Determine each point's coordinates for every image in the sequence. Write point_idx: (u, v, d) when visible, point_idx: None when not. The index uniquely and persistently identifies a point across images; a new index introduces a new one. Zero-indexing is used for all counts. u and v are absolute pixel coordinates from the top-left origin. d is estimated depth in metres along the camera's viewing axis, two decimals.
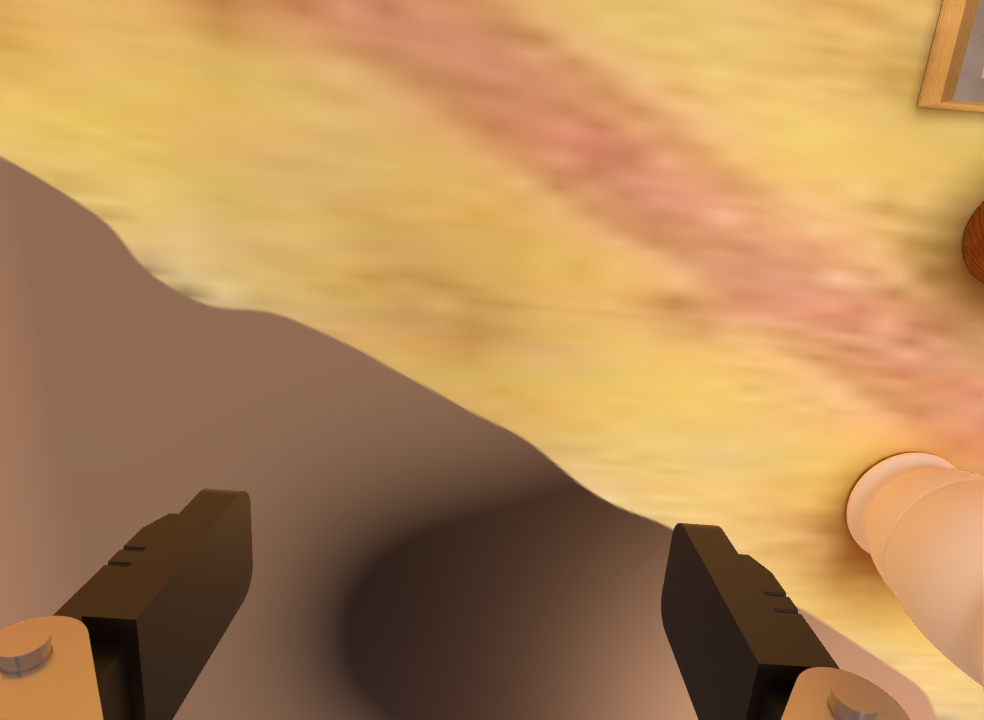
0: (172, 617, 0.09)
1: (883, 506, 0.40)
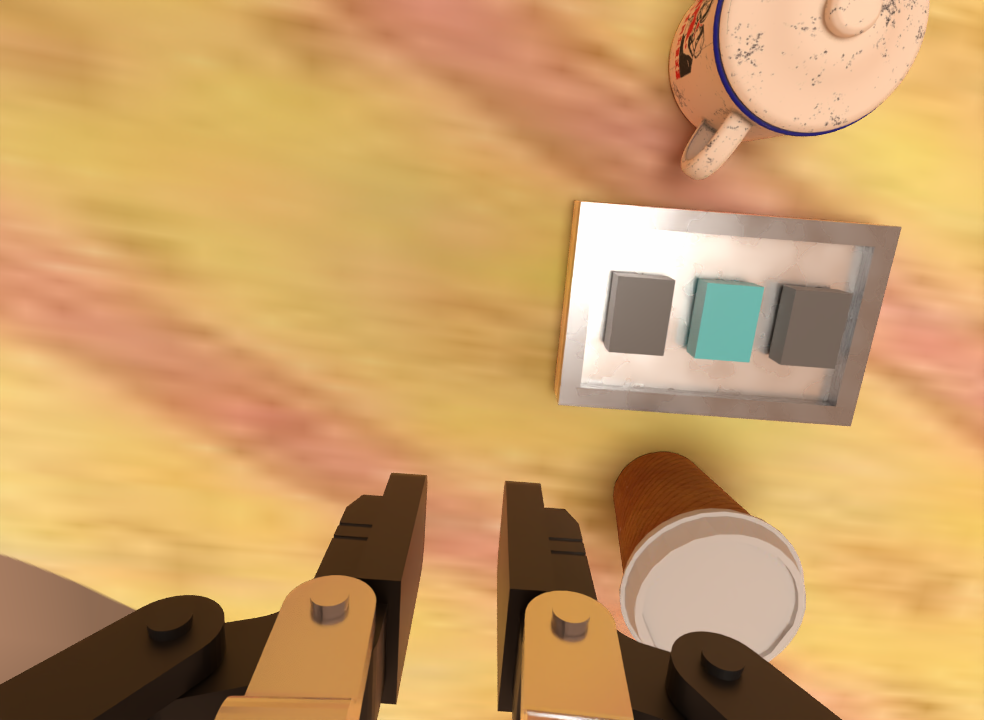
0: (407, 582, 0.10)
1: None
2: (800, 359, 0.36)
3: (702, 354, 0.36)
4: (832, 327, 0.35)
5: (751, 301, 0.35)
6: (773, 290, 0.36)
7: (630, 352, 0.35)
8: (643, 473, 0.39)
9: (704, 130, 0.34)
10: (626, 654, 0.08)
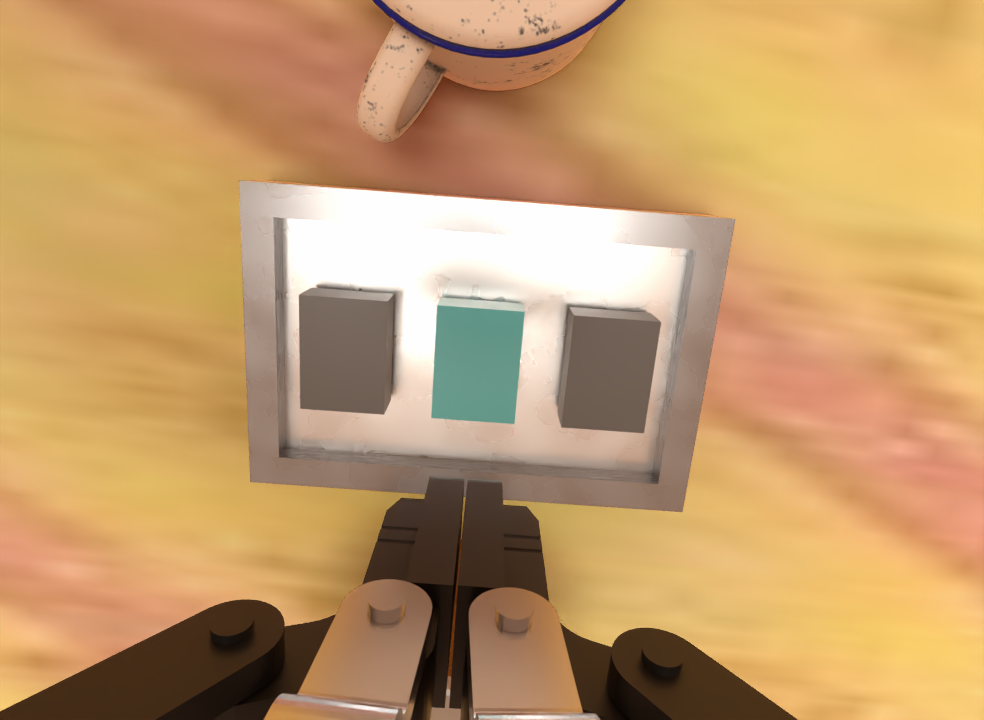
0: (454, 586, 0.10)
1: None
2: (591, 419, 0.24)
3: (442, 412, 0.24)
4: (634, 372, 0.23)
5: (507, 333, 0.23)
6: (558, 314, 0.24)
7: (333, 409, 0.23)
8: None
9: (423, 69, 0.22)
10: (571, 651, 0.08)
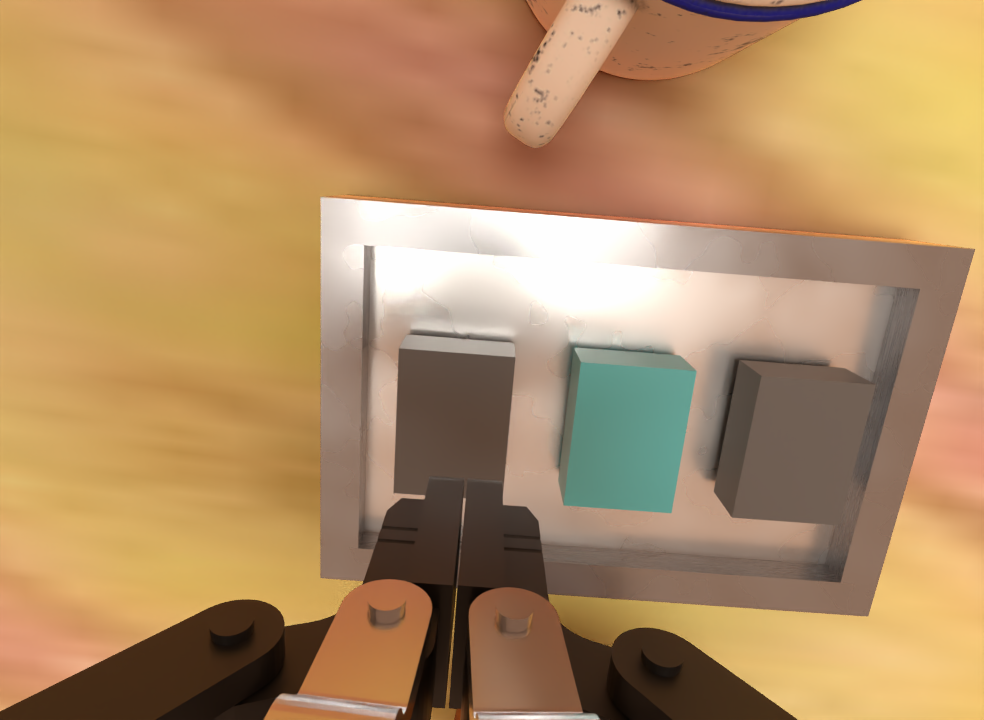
0: (454, 586, 0.10)
1: None
2: (771, 507, 0.18)
3: (578, 498, 0.18)
4: (834, 448, 0.18)
5: (671, 398, 0.17)
6: (721, 368, 0.19)
7: None
8: None
9: None
10: (571, 651, 0.08)
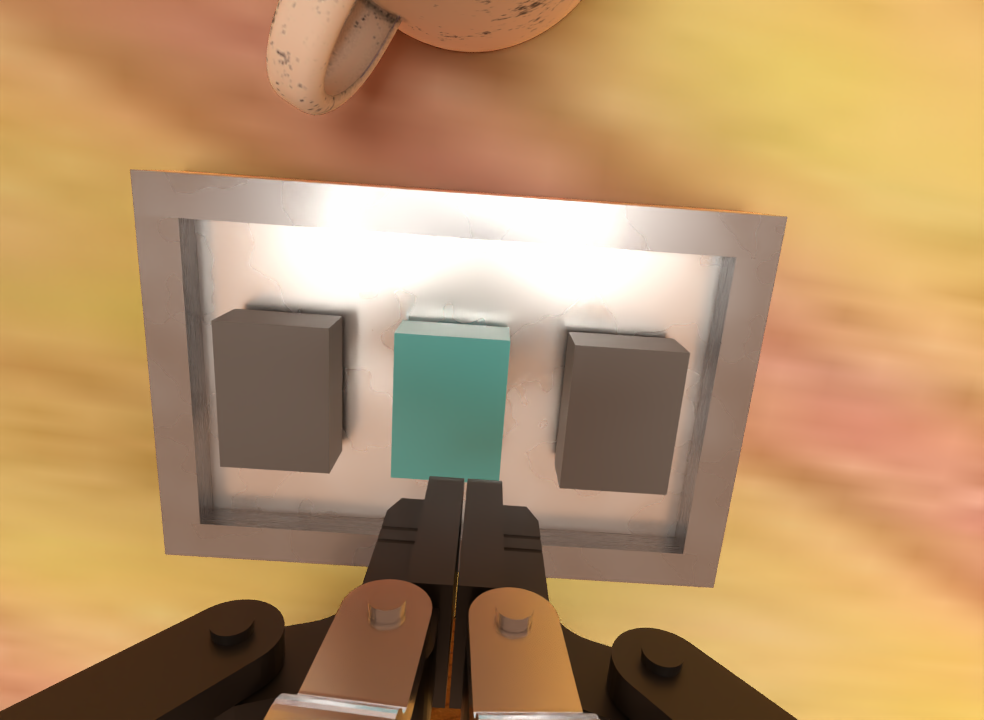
0: (454, 586, 0.10)
1: None
2: (598, 477, 0.18)
3: (405, 469, 0.18)
4: (655, 417, 0.18)
5: (487, 368, 0.17)
6: (555, 340, 0.19)
7: (263, 467, 0.18)
8: None
9: (373, 19, 0.16)
10: (571, 651, 0.08)
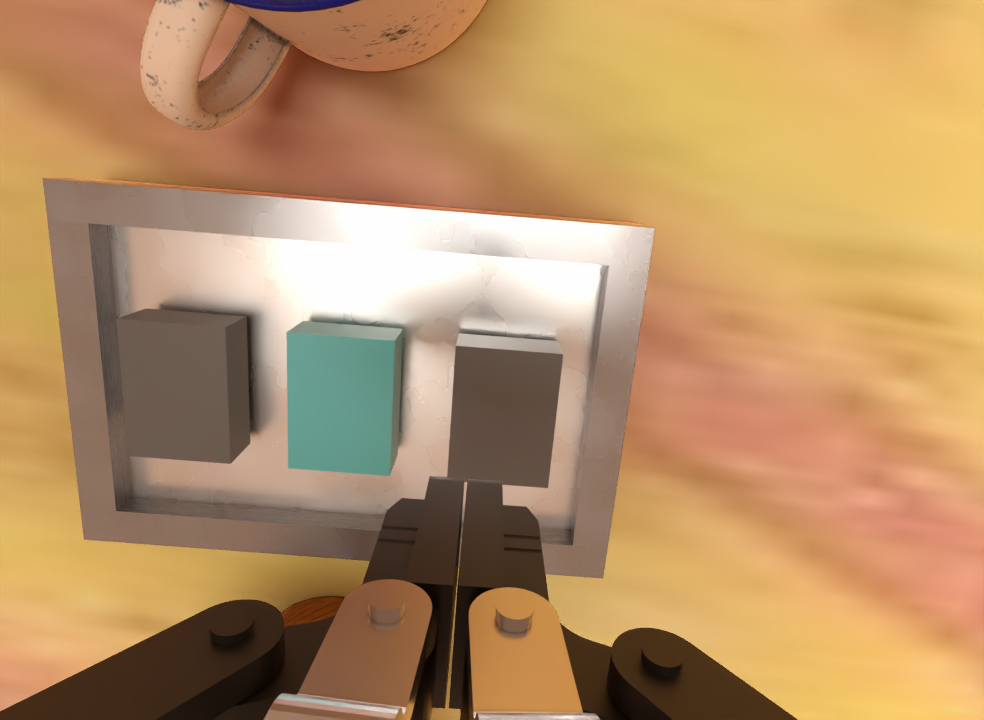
0: (454, 586, 0.10)
1: None
2: (483, 471, 0.19)
3: (302, 461, 0.19)
4: (533, 414, 0.19)
5: (374, 367, 0.18)
6: (449, 341, 0.20)
7: (168, 457, 0.19)
8: None
9: (267, 42, 0.18)
10: (571, 651, 0.08)
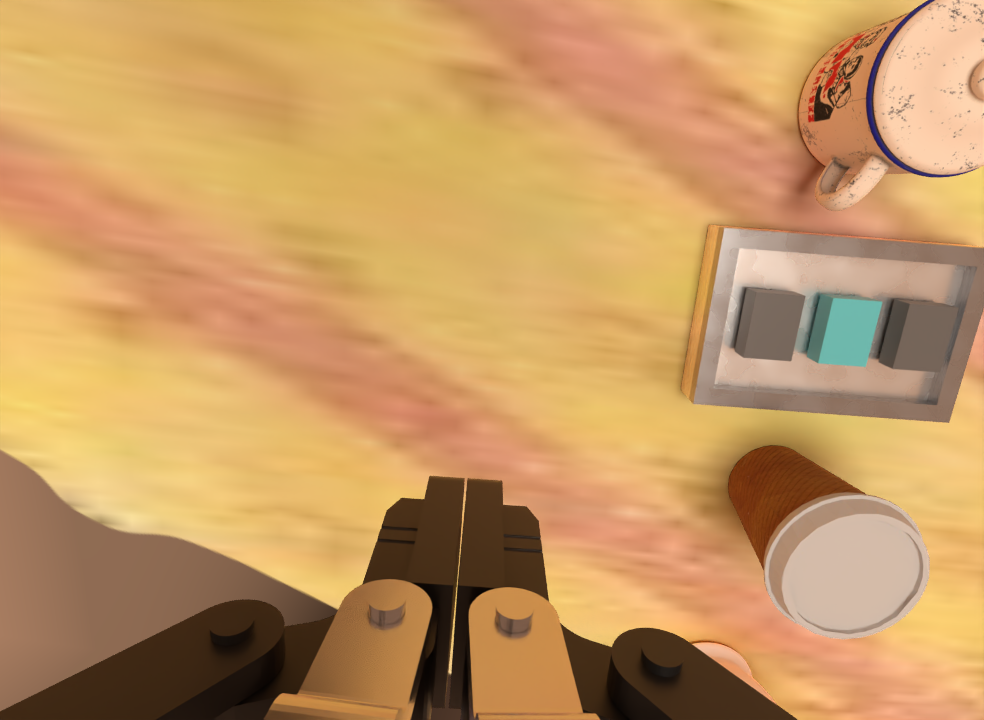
0: (454, 586, 0.10)
1: None
2: (910, 364, 0.41)
3: (825, 359, 0.41)
4: (939, 336, 0.40)
5: (870, 314, 0.40)
6: (884, 303, 0.42)
7: (762, 358, 0.41)
8: (763, 464, 0.44)
9: (832, 166, 0.39)
10: (571, 651, 0.08)
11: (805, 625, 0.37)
